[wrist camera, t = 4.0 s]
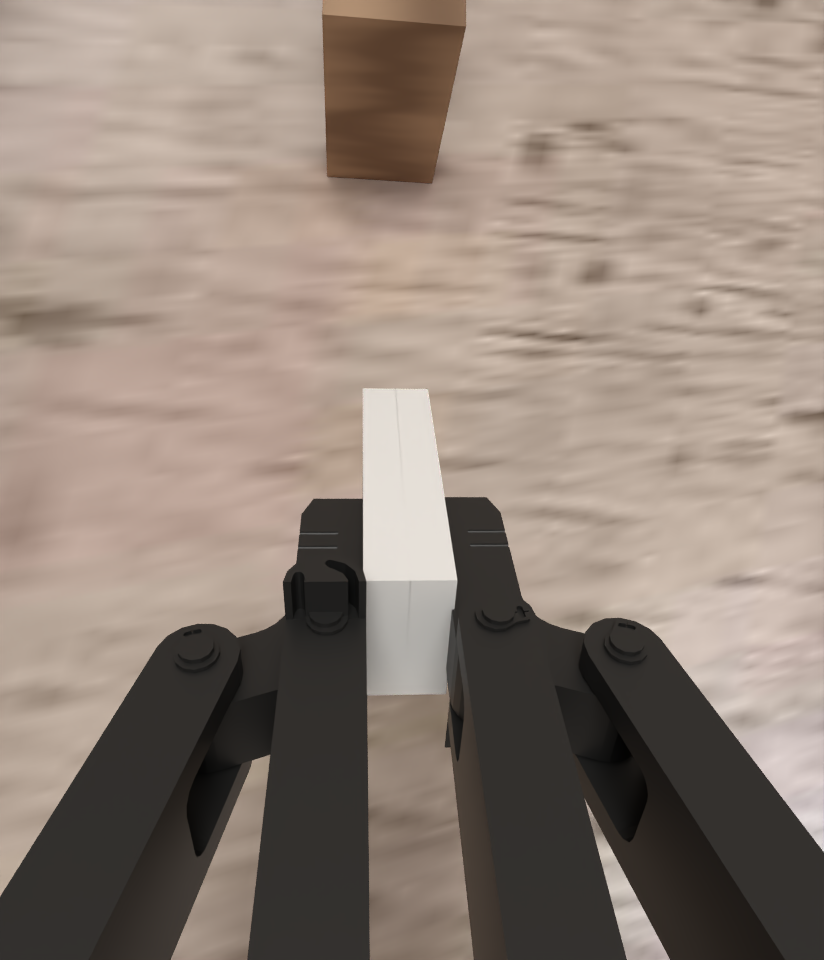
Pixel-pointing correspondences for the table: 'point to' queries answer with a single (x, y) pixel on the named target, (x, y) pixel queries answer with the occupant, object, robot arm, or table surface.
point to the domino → (388, 84)
